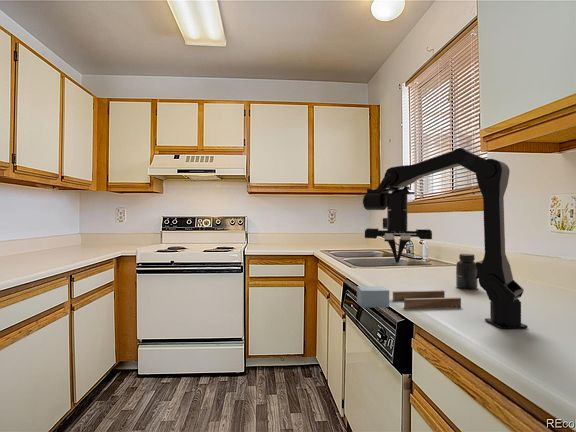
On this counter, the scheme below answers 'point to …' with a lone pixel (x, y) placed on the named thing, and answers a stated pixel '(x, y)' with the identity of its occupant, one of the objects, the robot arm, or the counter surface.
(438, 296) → the trap channel
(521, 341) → the counter surface
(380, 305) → the slate block
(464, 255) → the supplement bottle
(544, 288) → the counter surface
